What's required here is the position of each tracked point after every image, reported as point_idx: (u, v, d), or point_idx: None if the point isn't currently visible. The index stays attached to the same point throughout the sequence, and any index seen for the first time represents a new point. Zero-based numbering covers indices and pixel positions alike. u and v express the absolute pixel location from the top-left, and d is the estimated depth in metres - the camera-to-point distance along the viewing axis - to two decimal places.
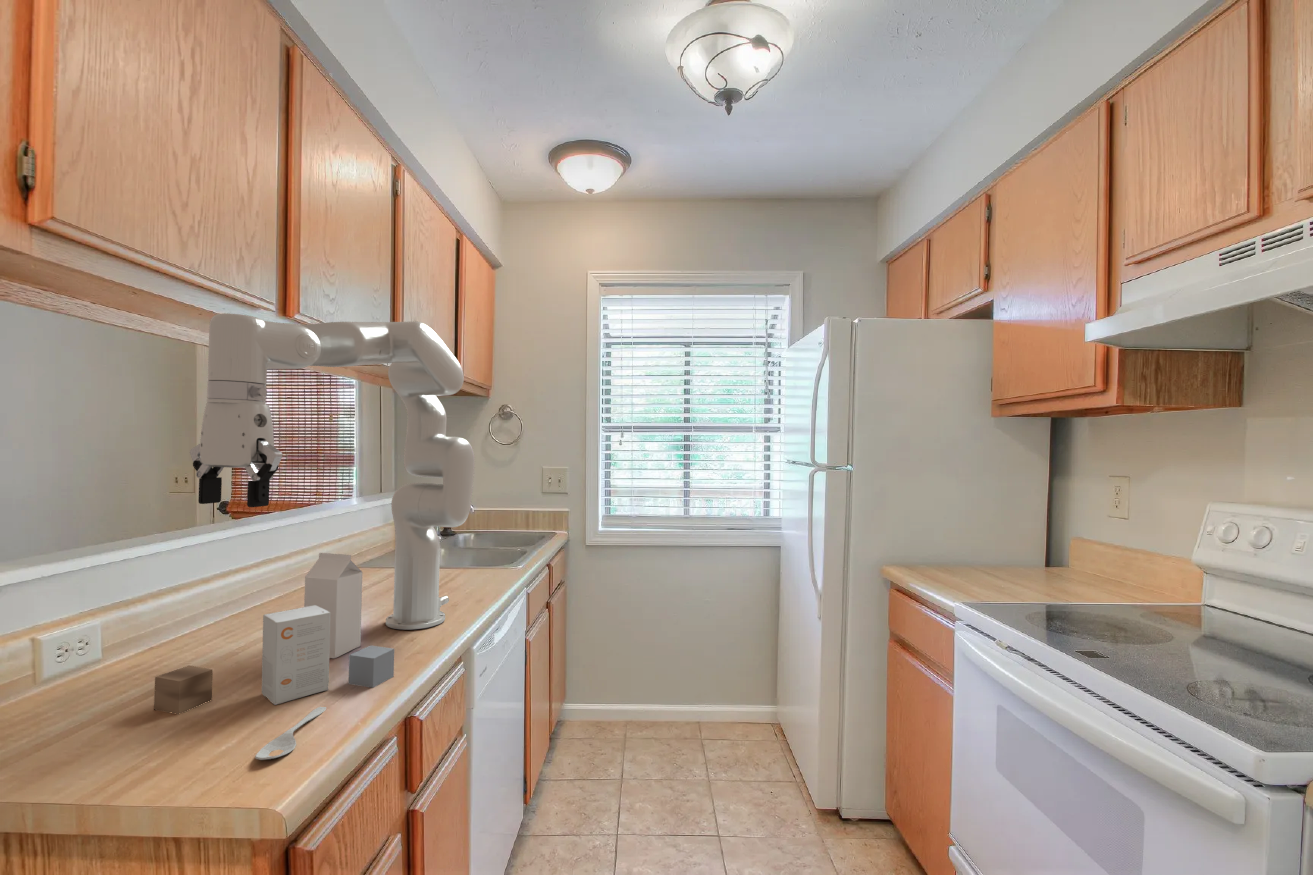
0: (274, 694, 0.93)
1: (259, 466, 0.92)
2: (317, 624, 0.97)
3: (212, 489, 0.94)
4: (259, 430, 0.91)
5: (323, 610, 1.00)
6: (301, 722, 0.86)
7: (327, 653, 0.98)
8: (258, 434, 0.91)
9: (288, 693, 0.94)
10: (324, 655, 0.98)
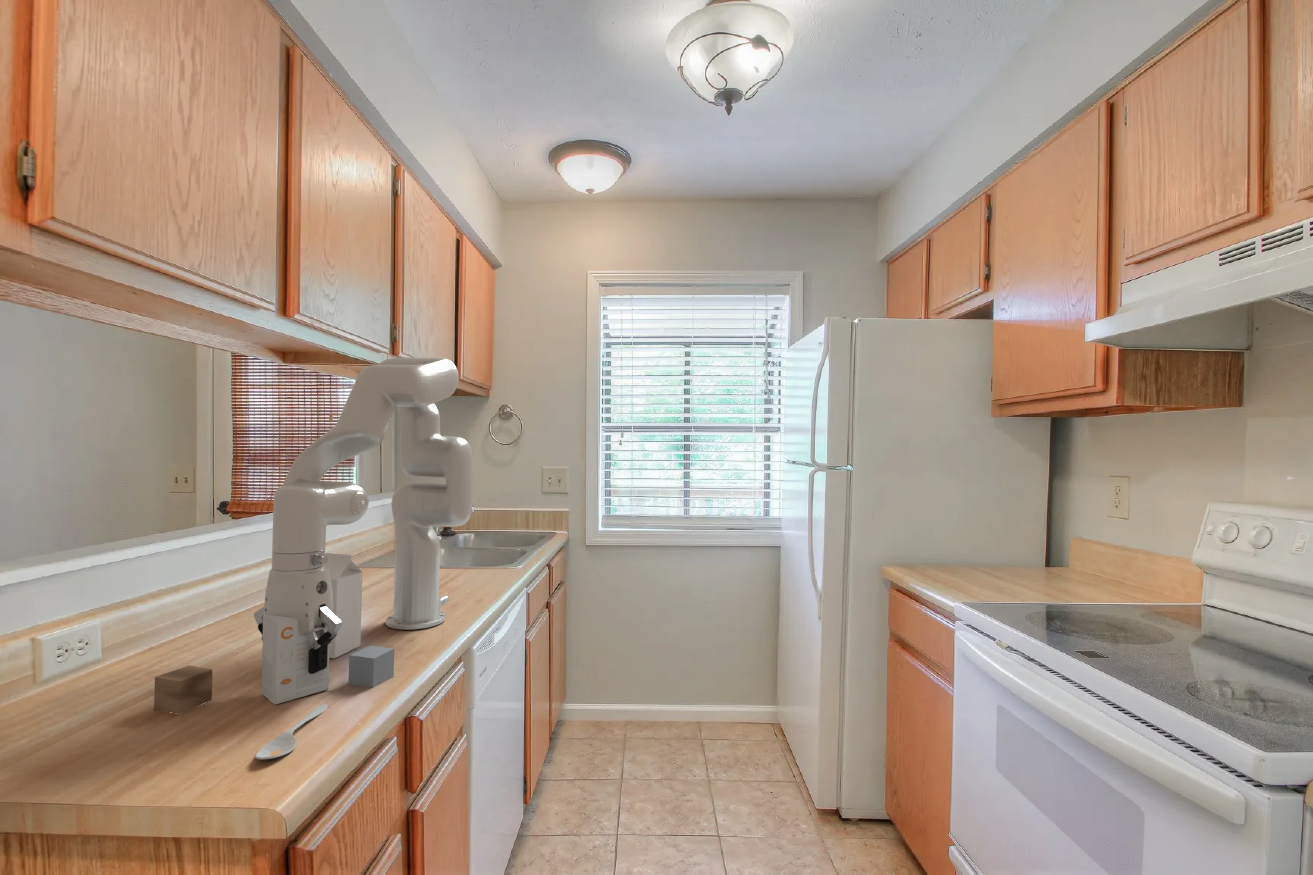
0: (274, 693, 0.93)
1: None
2: (317, 623, 0.97)
3: None
4: (321, 597, 0.96)
5: None
6: (301, 722, 0.86)
7: None
8: (320, 601, 0.96)
9: (288, 693, 0.94)
10: None
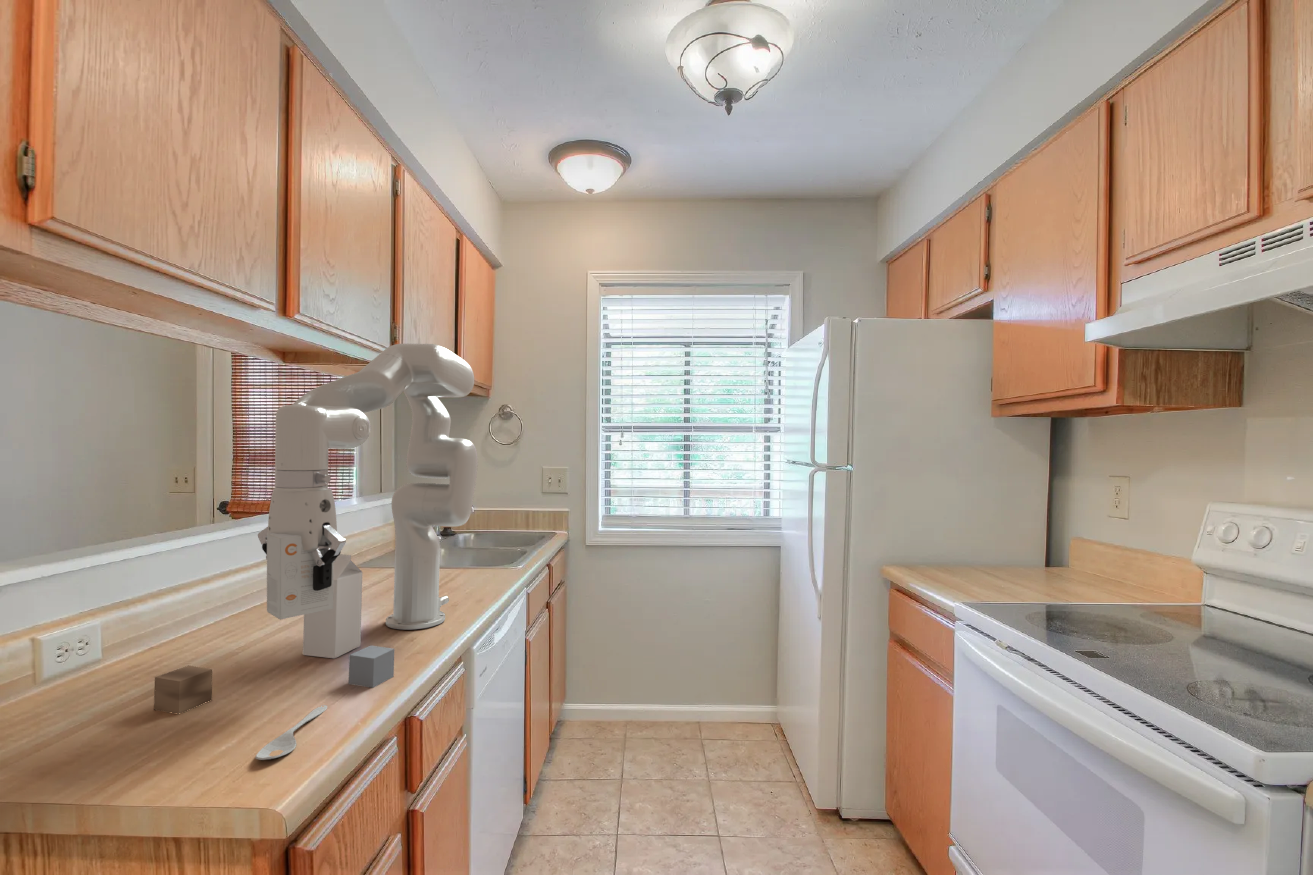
0: (279, 608, 0.93)
1: (323, 549, 0.98)
2: (320, 542, 0.97)
3: None
4: (324, 515, 0.96)
5: None
6: (301, 722, 0.86)
7: None
8: (323, 519, 0.96)
9: (293, 609, 0.95)
10: None
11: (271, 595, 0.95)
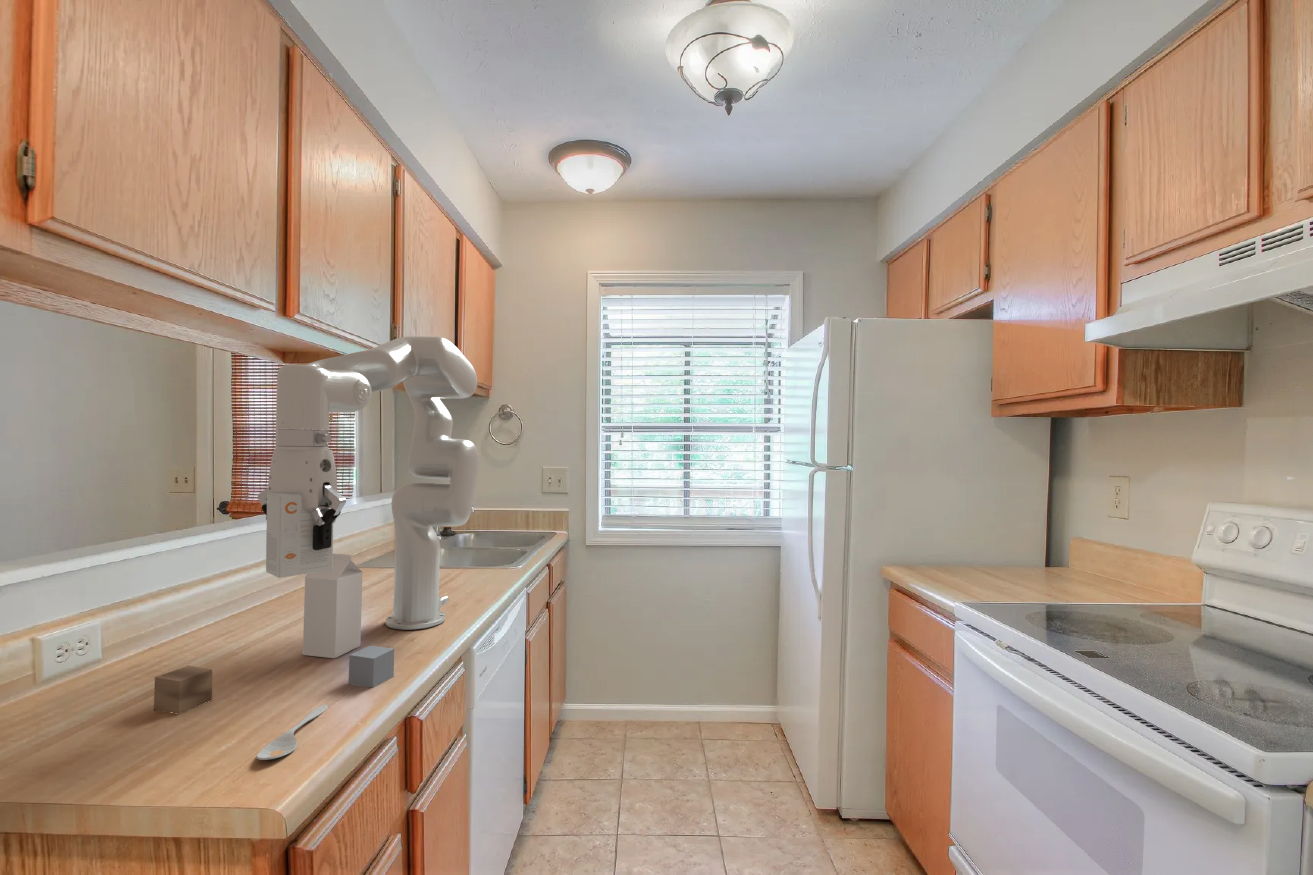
0: (278, 567, 0.93)
1: (323, 510, 0.97)
2: (321, 502, 0.97)
3: None
4: (325, 475, 0.96)
5: None
6: (301, 722, 0.86)
7: None
8: (324, 479, 0.96)
9: (292, 567, 0.94)
10: None
11: (270, 554, 0.95)
